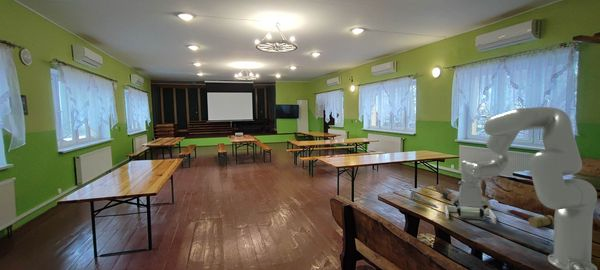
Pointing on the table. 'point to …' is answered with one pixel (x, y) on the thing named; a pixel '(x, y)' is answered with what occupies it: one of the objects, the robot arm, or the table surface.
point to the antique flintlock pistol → (445, 192)
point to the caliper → (414, 195)
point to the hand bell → (483, 187)
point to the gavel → (534, 219)
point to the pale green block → (471, 213)
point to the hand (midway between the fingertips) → (470, 216)
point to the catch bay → (454, 208)
